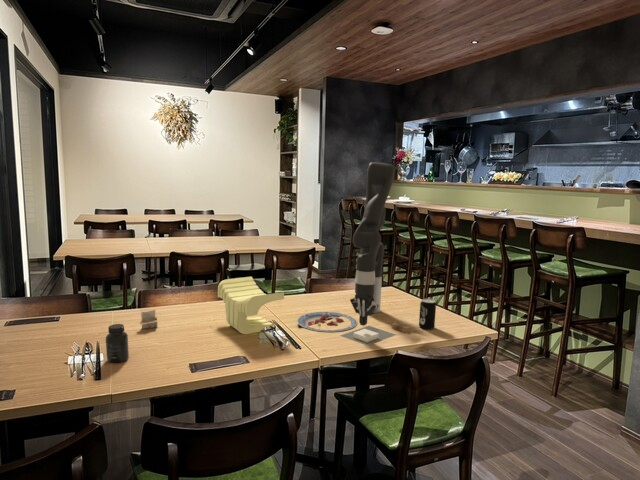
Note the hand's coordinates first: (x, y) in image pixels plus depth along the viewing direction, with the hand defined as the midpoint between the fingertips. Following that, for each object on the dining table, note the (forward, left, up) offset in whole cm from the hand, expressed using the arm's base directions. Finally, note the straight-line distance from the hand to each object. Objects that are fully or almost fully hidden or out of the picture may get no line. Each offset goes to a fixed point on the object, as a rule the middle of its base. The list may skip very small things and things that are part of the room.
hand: (363, 324), depth 177 cm
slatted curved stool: (-41, -24, -7) cm, 48 cm away
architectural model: (-66, -56, -7) cm, 87 cm away
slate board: (0, +4, -6) cm, 7 cm away
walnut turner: (+2, +18, -7) cm, 20 cm away
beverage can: (+8, +34, -7) cm, 35 cm away
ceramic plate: (-22, +3, -7) cm, 23 cm away
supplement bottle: (-43, -77, -7) cm, 89 cm away
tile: (-2, 0, -4) cm, 4 cm away
